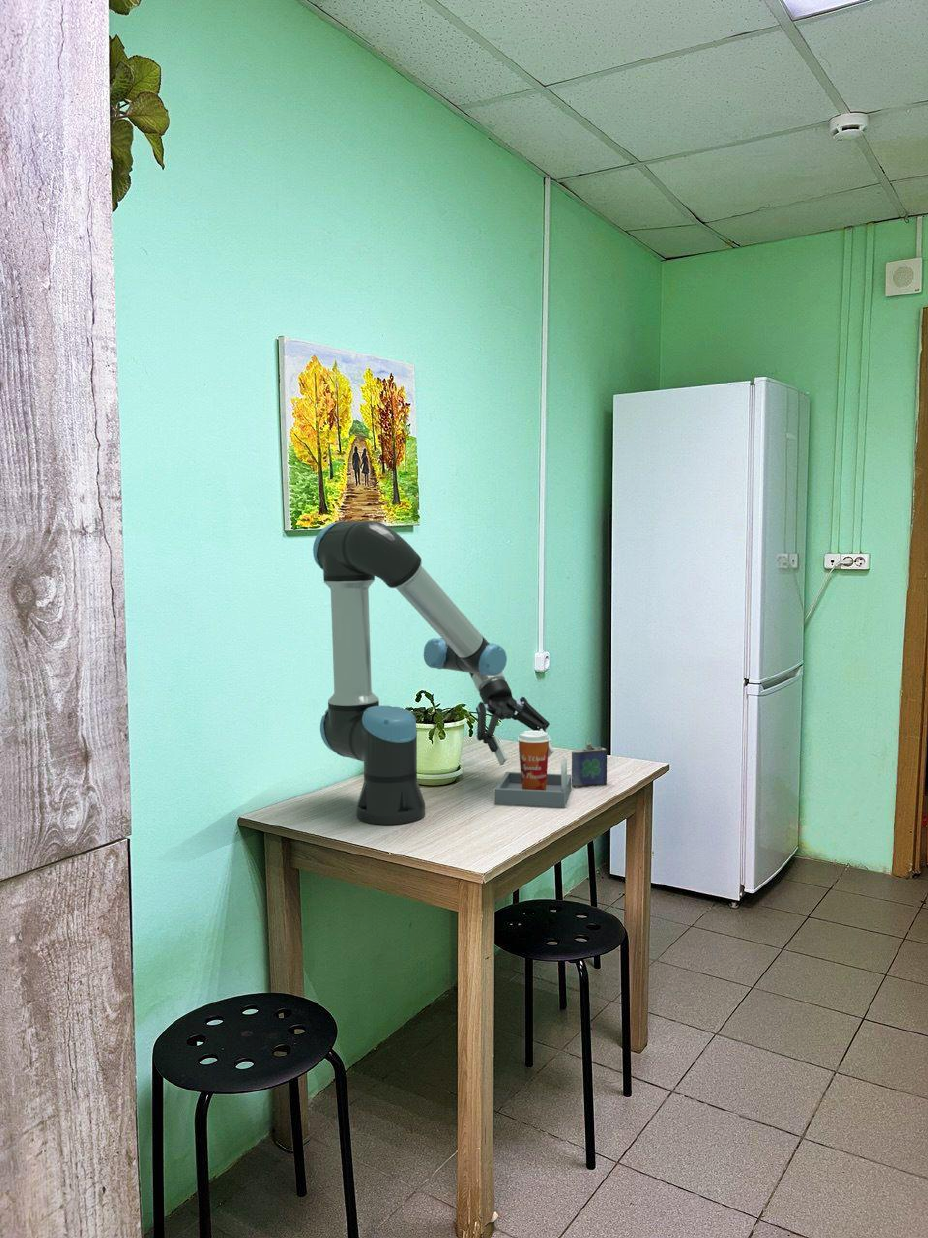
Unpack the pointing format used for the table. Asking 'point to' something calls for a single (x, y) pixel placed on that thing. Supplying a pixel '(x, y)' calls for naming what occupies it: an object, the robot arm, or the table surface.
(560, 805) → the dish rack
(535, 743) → the paper cup
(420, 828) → the table surface
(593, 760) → the flask
